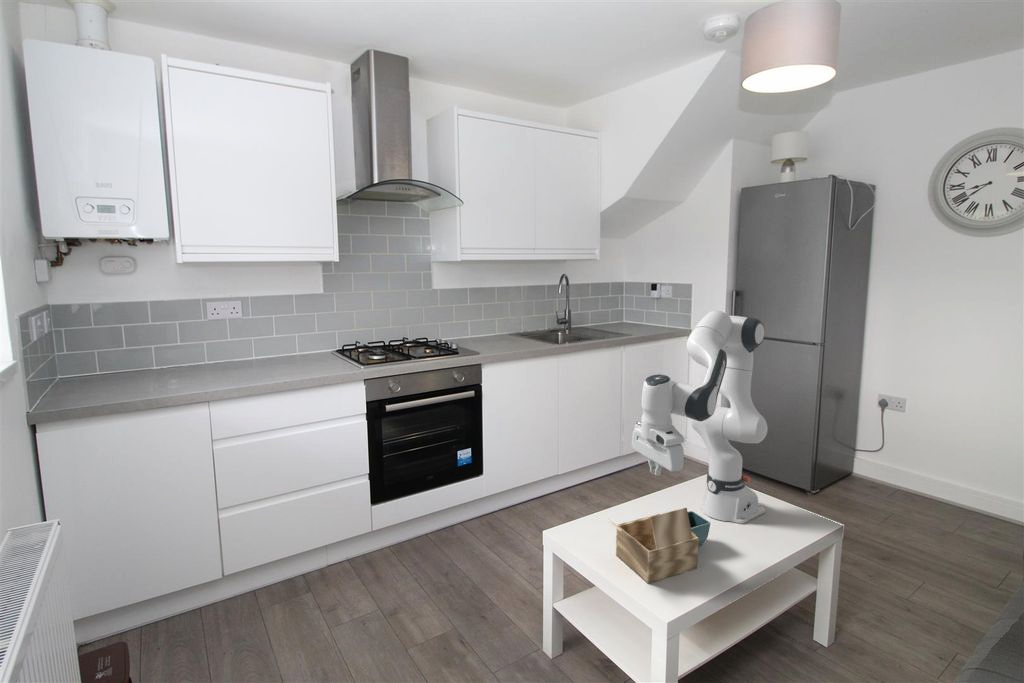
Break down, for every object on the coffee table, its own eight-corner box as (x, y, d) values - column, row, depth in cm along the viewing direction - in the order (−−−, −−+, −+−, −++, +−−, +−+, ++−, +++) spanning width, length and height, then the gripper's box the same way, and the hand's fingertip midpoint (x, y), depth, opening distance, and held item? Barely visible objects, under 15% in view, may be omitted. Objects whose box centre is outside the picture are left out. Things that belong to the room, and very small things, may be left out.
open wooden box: (662, 540, 175) (663, 512, 173) (698, 567, 160) (700, 537, 158) (614, 554, 168) (615, 525, 166) (648, 584, 153) (649, 552, 151)
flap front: (605, 517, 158) (604, 518, 158) (621, 530, 151) (620, 531, 151) (624, 531, 162) (623, 532, 162) (640, 544, 155) (639, 545, 155)
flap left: (685, 507, 158) (686, 507, 158) (691, 538, 157) (692, 538, 157) (650, 516, 153) (651, 516, 153) (656, 549, 152) (657, 549, 152)
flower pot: (688, 555, 167) (689, 528, 165) (669, 541, 175) (670, 516, 173) (710, 548, 170) (711, 522, 169) (690, 535, 178) (691, 510, 177)
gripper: (626, 421, 165) (626, 463, 168) (670, 443, 147) (668, 489, 149) (643, 418, 168) (642, 459, 170) (688, 439, 149) (686, 485, 152)
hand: (655, 473), depth 160 cm, fingers closed
